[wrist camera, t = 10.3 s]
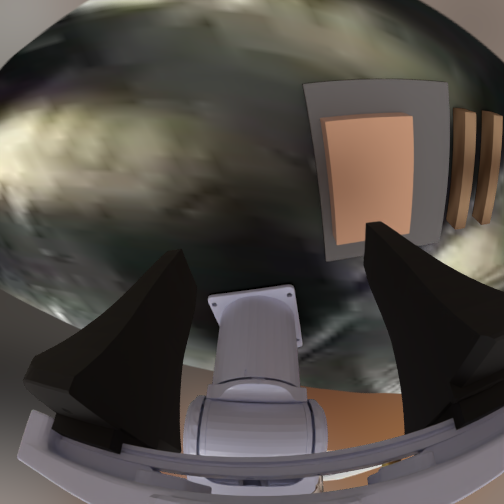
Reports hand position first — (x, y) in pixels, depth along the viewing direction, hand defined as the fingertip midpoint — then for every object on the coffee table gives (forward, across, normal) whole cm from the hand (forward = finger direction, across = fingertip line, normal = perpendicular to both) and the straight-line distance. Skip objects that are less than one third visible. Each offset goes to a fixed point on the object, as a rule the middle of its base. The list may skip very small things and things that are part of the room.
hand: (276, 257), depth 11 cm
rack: (+10, -17, +1) cm, 20 cm away
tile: (+9, -10, +1) cm, 13 cm away
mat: (+10, -9, +1) cm, 13 cm away
